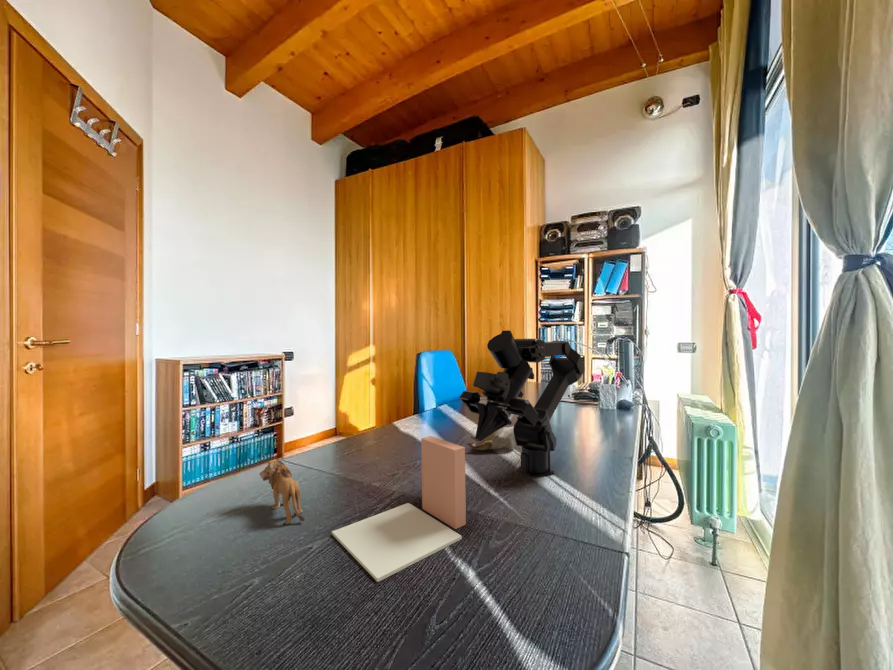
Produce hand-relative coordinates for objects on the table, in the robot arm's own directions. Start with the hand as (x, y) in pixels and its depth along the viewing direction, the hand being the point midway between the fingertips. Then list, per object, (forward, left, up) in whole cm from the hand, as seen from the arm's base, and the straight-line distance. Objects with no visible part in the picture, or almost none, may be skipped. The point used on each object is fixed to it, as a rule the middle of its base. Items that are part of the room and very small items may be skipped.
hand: (477, 439), depth 74 cm
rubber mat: (+19, +7, -13) cm, 24 cm away
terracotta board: (+9, +3, -13) cm, 16 cm away
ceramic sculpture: (-19, -29, -13) cm, 37 cm away
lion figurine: (+38, -10, -13) cm, 41 cm away
